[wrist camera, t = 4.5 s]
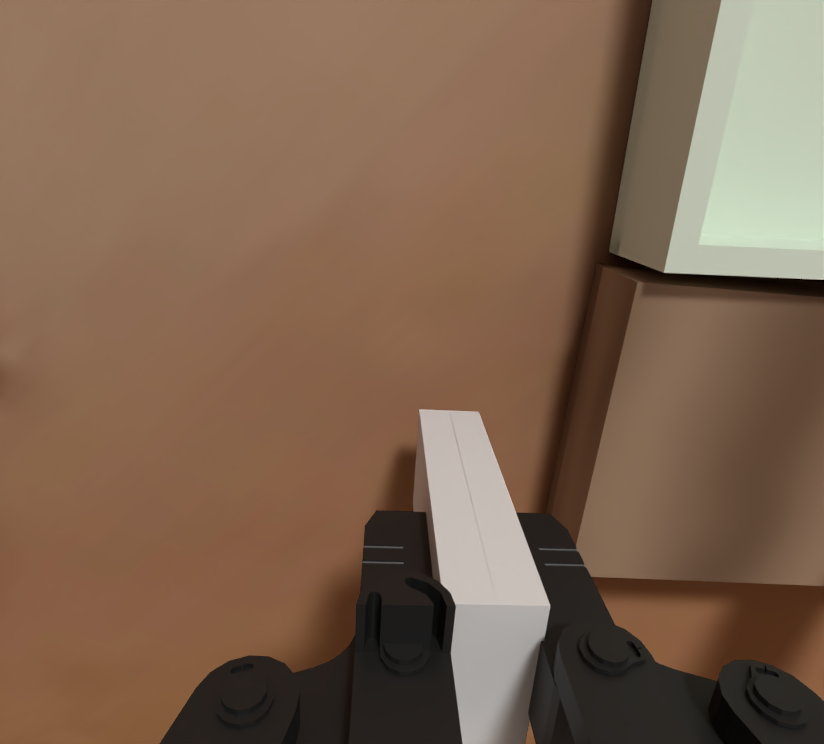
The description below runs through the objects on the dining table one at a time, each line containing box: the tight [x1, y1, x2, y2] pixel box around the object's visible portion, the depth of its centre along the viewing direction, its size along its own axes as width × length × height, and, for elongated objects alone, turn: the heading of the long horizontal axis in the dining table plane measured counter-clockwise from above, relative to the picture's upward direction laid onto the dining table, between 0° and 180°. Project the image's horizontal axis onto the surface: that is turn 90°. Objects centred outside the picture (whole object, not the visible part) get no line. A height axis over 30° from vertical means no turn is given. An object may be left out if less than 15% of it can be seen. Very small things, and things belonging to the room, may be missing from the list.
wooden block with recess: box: [545, 264, 824, 586], centre depth 15 cm, size 14×8×3 cm, turn 85°
